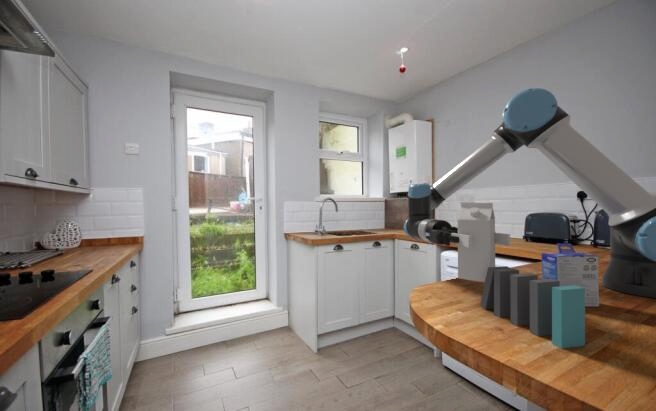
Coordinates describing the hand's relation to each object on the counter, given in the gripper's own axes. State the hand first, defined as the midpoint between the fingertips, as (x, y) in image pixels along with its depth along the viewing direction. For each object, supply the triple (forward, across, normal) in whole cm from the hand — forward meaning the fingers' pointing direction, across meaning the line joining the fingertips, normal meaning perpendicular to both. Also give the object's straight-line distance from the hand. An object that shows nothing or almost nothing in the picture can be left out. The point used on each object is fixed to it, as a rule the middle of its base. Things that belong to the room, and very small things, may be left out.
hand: (489, 240), depth 64 cm
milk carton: (-4, 0, -10) cm, 11 cm away
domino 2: (+4, 0, -16) cm, 16 cm away
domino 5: (+17, 0, -16) cm, 23 cm away
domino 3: (+9, 0, -16) cm, 18 cm away
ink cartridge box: (+2, -21, -16) cm, 26 cm away
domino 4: (+13, 0, -16) cm, 21 cm away
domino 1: (0, 0, -16) cm, 16 cm away
